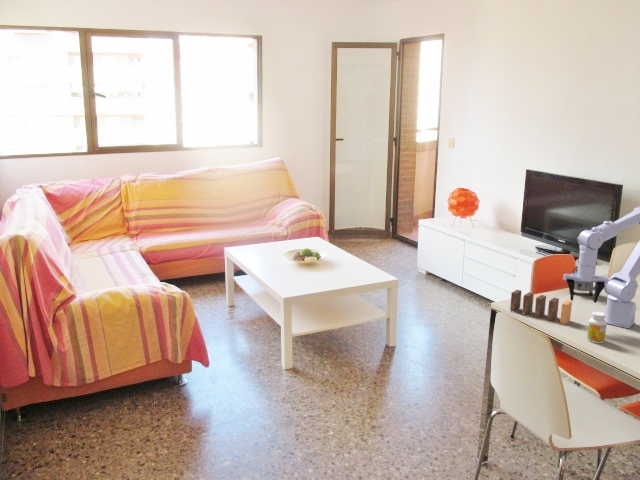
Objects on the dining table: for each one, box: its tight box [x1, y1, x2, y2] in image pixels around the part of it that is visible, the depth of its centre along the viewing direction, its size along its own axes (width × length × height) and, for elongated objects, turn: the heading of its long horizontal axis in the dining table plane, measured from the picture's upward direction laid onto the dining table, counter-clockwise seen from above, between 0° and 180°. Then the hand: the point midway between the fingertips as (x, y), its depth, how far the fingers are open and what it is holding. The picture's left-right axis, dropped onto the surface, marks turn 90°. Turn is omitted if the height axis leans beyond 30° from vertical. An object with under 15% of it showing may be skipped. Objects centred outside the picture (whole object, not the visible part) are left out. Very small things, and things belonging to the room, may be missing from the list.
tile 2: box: [546, 297, 560, 322], centre depth 223 cm, size 2×5×8 cm, turn 139°
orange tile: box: [559, 300, 573, 325], centre depth 220 cm, size 2×5×8 cm, turn 139°
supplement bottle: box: [586, 311, 607, 344], centre depth 203 cm, size 5×5×10 cm
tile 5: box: [509, 289, 522, 312], centre depth 232 cm, size 2×5×8 cm, turn 139°
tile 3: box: [534, 294, 547, 319], centre depth 226 cm, size 2×5×8 cm, turn 139°
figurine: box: [568, 258, 595, 297], centre depth 250 cm, size 9×12×15 cm
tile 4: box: [521, 291, 535, 315], centre depth 229 cm, size 2×5×8 cm, turn 139°
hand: (583, 300), depth 215 cm, fingers open, 7 cm apart
